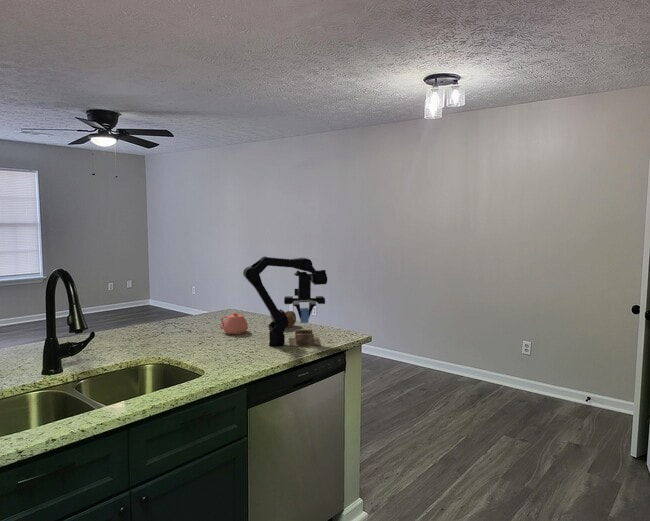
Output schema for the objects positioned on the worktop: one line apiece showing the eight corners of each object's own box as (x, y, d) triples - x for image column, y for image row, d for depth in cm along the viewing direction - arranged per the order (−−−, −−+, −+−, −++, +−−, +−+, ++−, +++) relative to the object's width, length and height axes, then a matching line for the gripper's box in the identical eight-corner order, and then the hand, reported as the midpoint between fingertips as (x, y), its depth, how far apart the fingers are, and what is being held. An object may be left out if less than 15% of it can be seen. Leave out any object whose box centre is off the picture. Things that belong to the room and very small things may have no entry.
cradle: (289, 347, 208) (289, 336, 207) (288, 339, 222) (288, 328, 221) (320, 346, 210) (320, 335, 209) (317, 338, 223) (317, 328, 223)
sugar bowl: (245, 336, 227) (245, 315, 226) (217, 335, 228) (216, 315, 227) (250, 330, 239) (249, 310, 238) (223, 329, 240) (222, 310, 239)
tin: (277, 330, 238) (277, 314, 238) (273, 329, 240) (273, 313, 240) (296, 325, 250) (296, 310, 250) (292, 324, 252) (292, 309, 252)
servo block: (301, 323, 210) (301, 310, 210) (300, 319, 219) (300, 307, 219) (308, 323, 211) (308, 310, 210) (307, 319, 219) (307, 307, 219)
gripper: (322, 282, 222) (322, 314, 224) (283, 282, 220) (283, 315, 222) (325, 286, 211) (325, 319, 213) (284, 286, 209) (284, 320, 211)
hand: (304, 318), depth 215 cm, fingers closed on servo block, 3 cm apart
